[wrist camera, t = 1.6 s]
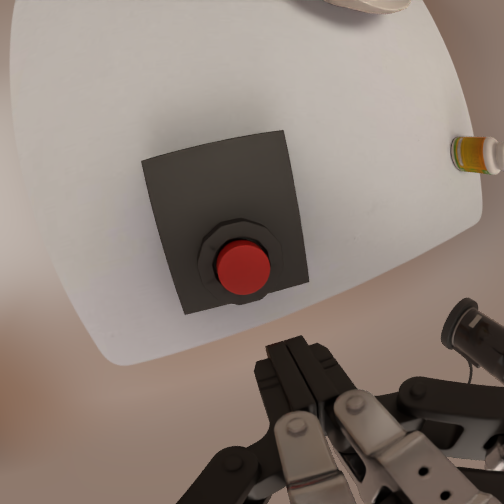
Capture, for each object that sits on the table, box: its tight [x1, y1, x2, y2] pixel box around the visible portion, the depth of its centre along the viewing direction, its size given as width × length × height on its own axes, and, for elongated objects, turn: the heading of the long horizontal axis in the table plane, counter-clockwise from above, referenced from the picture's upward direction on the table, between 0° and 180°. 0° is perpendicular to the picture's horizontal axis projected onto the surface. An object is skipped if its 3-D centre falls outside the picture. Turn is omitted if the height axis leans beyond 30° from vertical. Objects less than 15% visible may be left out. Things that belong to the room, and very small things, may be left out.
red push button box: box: [141, 130, 309, 315], centre depth 24 cm, size 14×12×6 cm
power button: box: [216, 240, 270, 295], centre depth 21 cm, size 4×4×2 cm
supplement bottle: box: [451, 137, 504, 175], centre depth 25 cm, size 5×5×10 cm
